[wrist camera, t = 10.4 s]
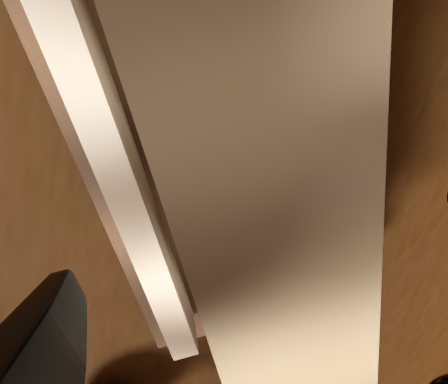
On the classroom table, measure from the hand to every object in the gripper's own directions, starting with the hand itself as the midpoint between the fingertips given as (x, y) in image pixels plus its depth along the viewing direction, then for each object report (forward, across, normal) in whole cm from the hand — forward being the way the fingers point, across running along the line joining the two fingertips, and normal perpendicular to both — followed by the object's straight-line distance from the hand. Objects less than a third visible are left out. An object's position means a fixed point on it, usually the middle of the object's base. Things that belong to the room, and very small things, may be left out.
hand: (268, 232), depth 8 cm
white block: (+5, 0, 0) cm, 5 cm away
